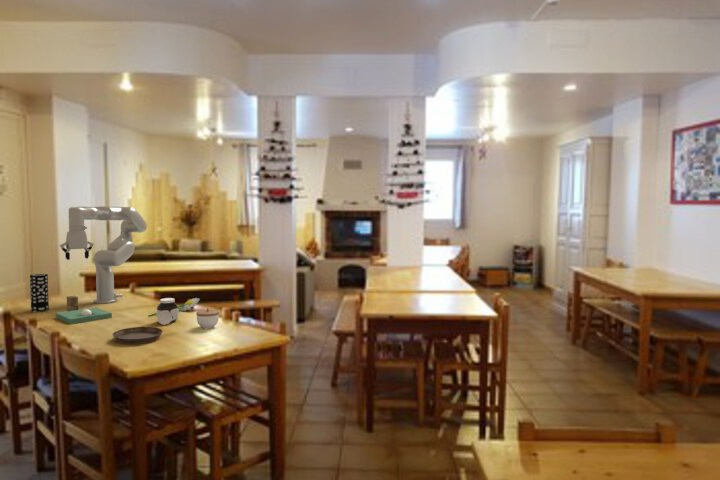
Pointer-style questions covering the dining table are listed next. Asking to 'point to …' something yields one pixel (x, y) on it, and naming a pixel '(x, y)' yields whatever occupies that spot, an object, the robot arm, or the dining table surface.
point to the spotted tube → (39, 292)
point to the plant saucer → (137, 335)
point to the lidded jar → (207, 318)
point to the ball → (86, 312)
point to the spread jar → (167, 311)
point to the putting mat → (76, 316)
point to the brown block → (72, 303)
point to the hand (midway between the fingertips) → (77, 258)
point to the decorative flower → (185, 305)
